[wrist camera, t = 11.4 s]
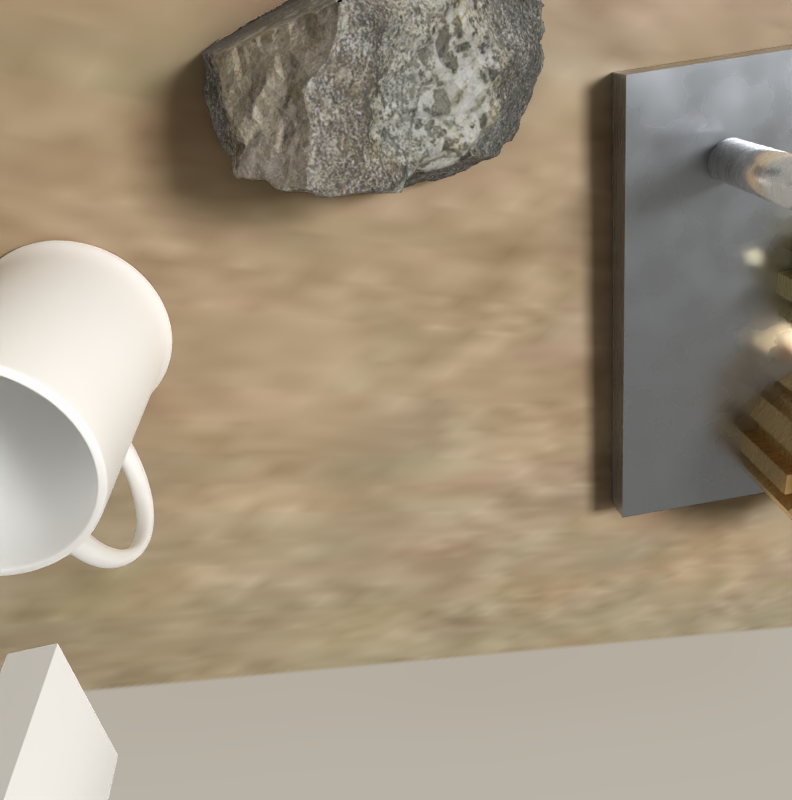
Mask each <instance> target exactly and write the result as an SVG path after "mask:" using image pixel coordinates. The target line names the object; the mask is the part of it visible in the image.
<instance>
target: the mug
mask: <svg viewBox="0 0 792 800" xmlns="http://www.w3.org/2000/svg"><path fill="white" fill-rule="evenodd" d="M171 351H172V332H171V326H170V321H169V318H168V315H167V312H166V309H165V307H164V305H163V303H162V301H161V299H160V297H159V296H158V294H157V292H156V291H155V290H154V288H153V287H152V286H151V284H150V283H149V282H148V281H147V280H146V279H145V277H144V276H143V275H142V274H141V273H139V272H138V271H137V270H136V269H135V268H134V267H132V266H131V265H130V264H128V263H127V262H126V261H124V260H123V259H121V258H119V257H118V256H116V255H114V254H112V253H110V252H108V251H106V250H103V249H101V248H98V247H95V246H92V245H89V244H85V243H80V242H74V241H62V240H54V241H43V242H37V243H33V244H29V245H26V246H23V247H20V248H18V249H16V250H14V251H12V252H10V253H8V254H6V255H5V256H3V257H2V258H1V259H0V576H5V575H14V574H20V573H25V572H30V571H34V570H37V569H40V568H43V567H46V566H48V565H50V564H53V563H55V562H57V561H59V560H61V559H62V558H64V557H66V556H67V555H69V554H71V555H73V556H74V557H76V558H77V559H79V560H81V561H83V562H85V563H87V564H90V565H93V566H96V567H101V568H117V567H121V566H124V565H127V564H129V563H131V562H132V561H134V560H135V559H137V558H138V557H139V556H140V555H141V554H142V553H143V552H144V550H145V549H146V547H147V546H148V544H149V541H150V539H151V536H152V532H153V525H154V508H153V500H152V494H151V490H150V486H149V482H148V479H147V476H146V473H145V470H144V468H143V465H142V463H141V461H140V458H139V456H138V454H137V452H136V450H135V448H134V446H133V445H132V443H131V442H132V440H133V437H134V435H135V432H136V430H137V427H138V425H139V422H140V420H141V417H142V415H143V412H144V410H145V407H146V405H147V402H148V400H149V397H150V395H151V393H152V392H153V391H154V390H155V389H156V387H157V386H158V385H159V383H160V382H161V380H162V378H163V377H164V375H165V373H166V370H167V368H168V365H169V362H170V357H171ZM121 467H122V469H123V471H124V473H125V475H126V478H127V480H128V483H129V486H130V489H131V492H132V496H133V500H134V505H135V512H136V529H135V535H134V538H133V541H132V543H131V545H130V546H129V547H128V548H127V549H115V548H112V547H109V546H107V545H105V544H103V543H101V542H100V541H98V540H97V539H95V538H94V537H93V536H92V535H91V533H92V531H93V530H94V529H95V527H96V525H97V524H98V522H99V520H100V518H101V516H102V514H103V511H104V509H105V506H106V504H107V502H108V499H109V497H110V494H111V492H112V489H113V487H114V484H115V482H116V479H117V477H118V474H119V472H120V469H121Z"/></svg>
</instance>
